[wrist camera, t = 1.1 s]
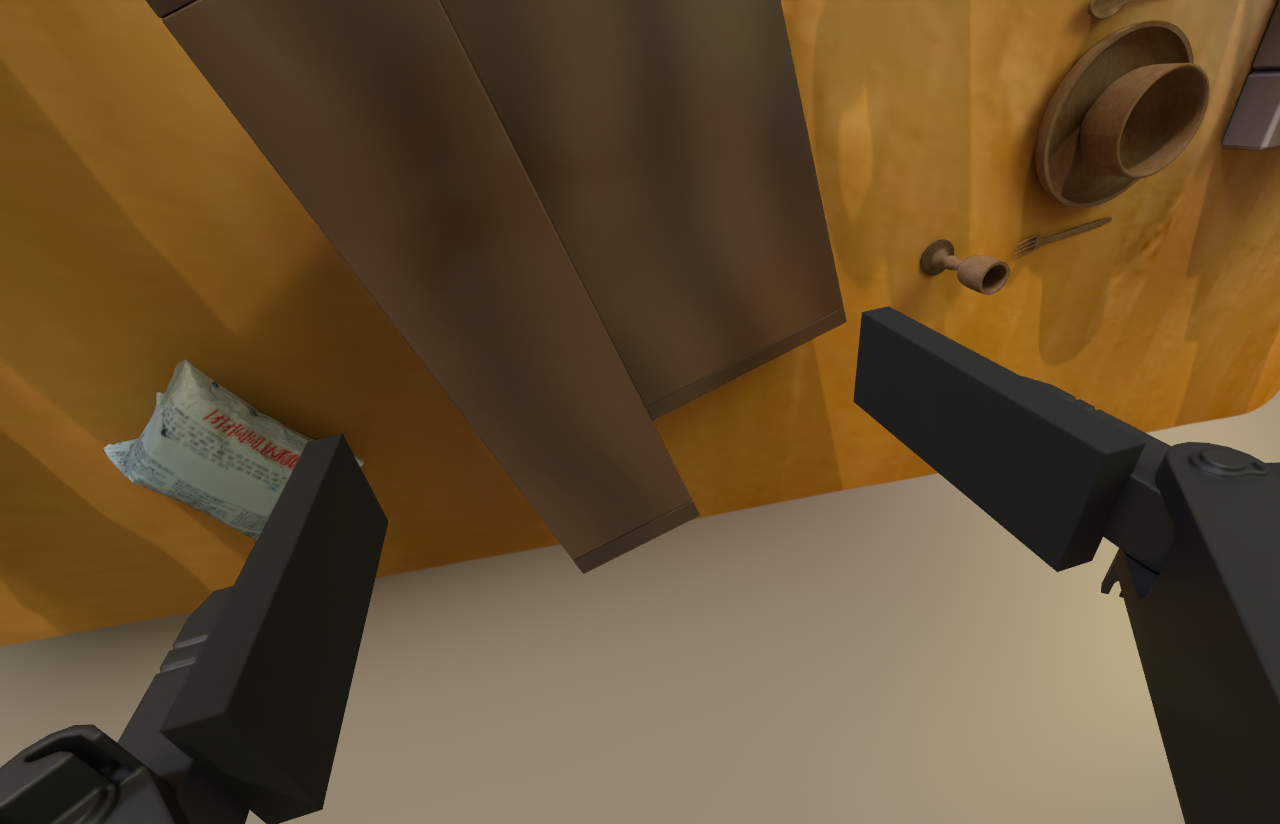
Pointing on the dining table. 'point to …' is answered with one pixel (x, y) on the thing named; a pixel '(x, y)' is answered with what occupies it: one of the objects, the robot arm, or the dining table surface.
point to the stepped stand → (549, 212)
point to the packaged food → (212, 452)
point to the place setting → (1103, 130)
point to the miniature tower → (1259, 97)
